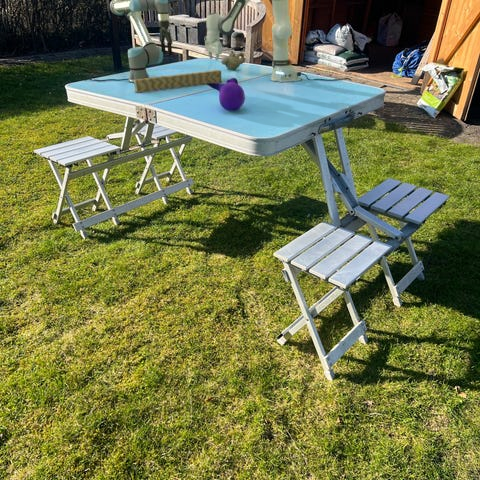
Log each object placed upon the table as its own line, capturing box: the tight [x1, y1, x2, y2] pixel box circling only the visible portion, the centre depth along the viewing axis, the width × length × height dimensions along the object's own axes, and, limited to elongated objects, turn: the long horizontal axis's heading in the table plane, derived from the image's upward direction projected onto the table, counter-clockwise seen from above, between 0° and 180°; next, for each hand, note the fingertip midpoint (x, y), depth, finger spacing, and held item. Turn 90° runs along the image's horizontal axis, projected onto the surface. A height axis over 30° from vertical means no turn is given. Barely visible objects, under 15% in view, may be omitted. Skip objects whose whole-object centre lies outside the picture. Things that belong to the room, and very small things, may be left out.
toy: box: [205, 77, 246, 112], centre depth 259 cm, size 16×18×27 cm
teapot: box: [221, 50, 245, 71], centre depth 369 cm, size 21×12×15 cm, turn 120°
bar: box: [133, 69, 223, 94], centre depth 317 cm, size 64×4×8 cm, turn 119°
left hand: (166, 53), depth 322 cm, fingers open, 13 cm apart
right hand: (214, 59), depth 323 cm, fingers open, 8 cm apart
